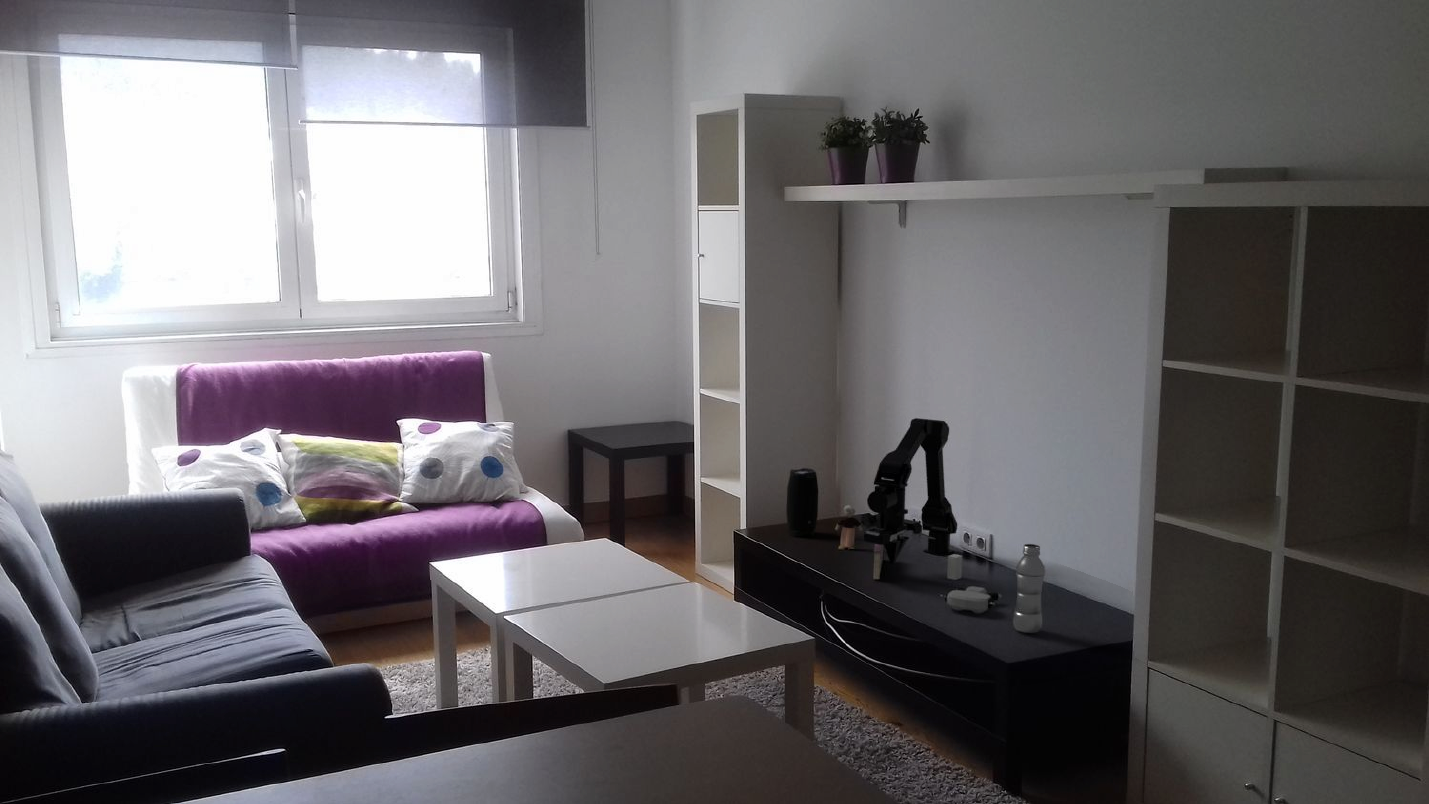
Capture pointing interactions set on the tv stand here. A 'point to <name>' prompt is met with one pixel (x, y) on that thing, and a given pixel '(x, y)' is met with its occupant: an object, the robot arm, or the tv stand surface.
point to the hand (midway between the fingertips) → (892, 563)
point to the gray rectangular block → (954, 567)
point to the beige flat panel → (878, 560)
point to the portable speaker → (802, 502)
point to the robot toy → (971, 599)
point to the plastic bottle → (1029, 590)
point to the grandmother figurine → (848, 528)
